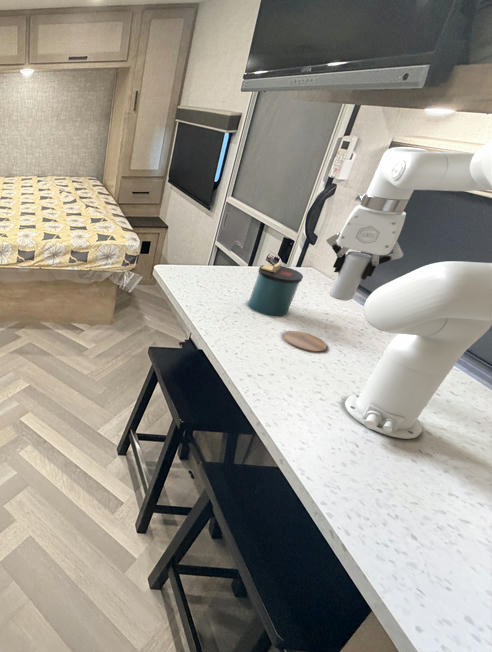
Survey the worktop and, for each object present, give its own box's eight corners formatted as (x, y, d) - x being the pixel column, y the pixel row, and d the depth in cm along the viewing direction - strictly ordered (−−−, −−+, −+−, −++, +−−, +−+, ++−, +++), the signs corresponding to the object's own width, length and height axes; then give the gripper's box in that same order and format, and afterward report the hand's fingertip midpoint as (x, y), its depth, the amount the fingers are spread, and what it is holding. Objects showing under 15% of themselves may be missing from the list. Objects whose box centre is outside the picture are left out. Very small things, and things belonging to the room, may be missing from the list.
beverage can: (330, 291, 107) (348, 249, 102) (352, 297, 104) (373, 254, 98) (326, 297, 104) (345, 254, 99) (349, 303, 101) (371, 260, 96)
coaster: (320, 356, 108) (321, 355, 108) (278, 340, 114) (279, 339, 114) (330, 343, 113) (330, 341, 113) (289, 328, 120) (290, 327, 120)
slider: (274, 272, 125) (277, 266, 124) (260, 268, 127) (262, 262, 126) (279, 269, 127) (281, 263, 126) (265, 265, 130) (267, 259, 129)
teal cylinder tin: (281, 321, 124) (296, 283, 118) (241, 307, 132) (253, 271, 126) (293, 309, 131) (308, 272, 125) (254, 296, 139) (266, 261, 132)
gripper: (334, 199, 96) (306, 268, 105) (432, 214, 85) (391, 290, 93) (342, 194, 100) (314, 260, 109) (436, 208, 89) (397, 281, 97)
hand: (350, 273), depth 101 cm, fingers closed on beverage can, 4 cm apart
